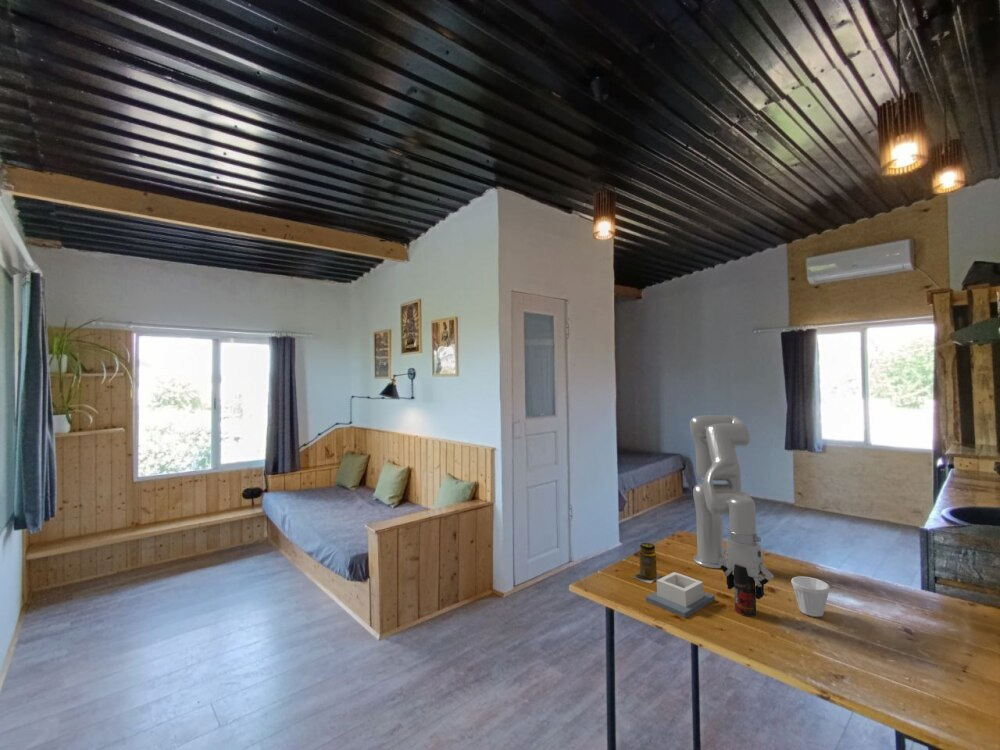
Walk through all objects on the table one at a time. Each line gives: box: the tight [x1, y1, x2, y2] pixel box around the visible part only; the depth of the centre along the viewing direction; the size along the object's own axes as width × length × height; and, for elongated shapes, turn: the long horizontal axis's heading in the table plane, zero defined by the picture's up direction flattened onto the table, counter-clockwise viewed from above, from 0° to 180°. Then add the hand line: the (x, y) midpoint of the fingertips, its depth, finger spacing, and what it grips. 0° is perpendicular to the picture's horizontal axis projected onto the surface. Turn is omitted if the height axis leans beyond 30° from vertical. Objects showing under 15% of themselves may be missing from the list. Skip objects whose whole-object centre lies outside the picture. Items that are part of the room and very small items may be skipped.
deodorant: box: [733, 565, 757, 618], centre depth 143 cm, size 6×6×15 cm
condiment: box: [632, 542, 662, 584], centre depth 170 cm, size 7×8×12 cm
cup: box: [790, 576, 831, 618], centre depth 141 cm, size 10×10×9 cm
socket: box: [645, 571, 716, 619], centre depth 151 cm, size 18×14×6 cm
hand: (744, 592), depth 143 cm, fingers open, 8 cm apart
